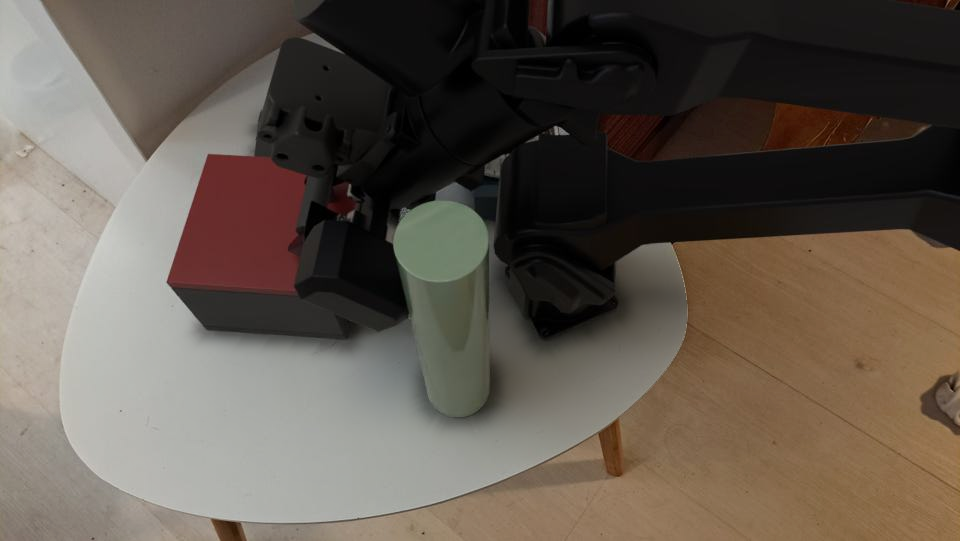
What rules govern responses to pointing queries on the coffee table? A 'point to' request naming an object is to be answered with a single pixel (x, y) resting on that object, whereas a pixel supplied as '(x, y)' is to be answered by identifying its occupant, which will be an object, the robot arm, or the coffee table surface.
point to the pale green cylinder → (448, 301)
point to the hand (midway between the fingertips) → (302, 217)
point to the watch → (494, 184)
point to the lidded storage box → (261, 313)
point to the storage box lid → (249, 225)
